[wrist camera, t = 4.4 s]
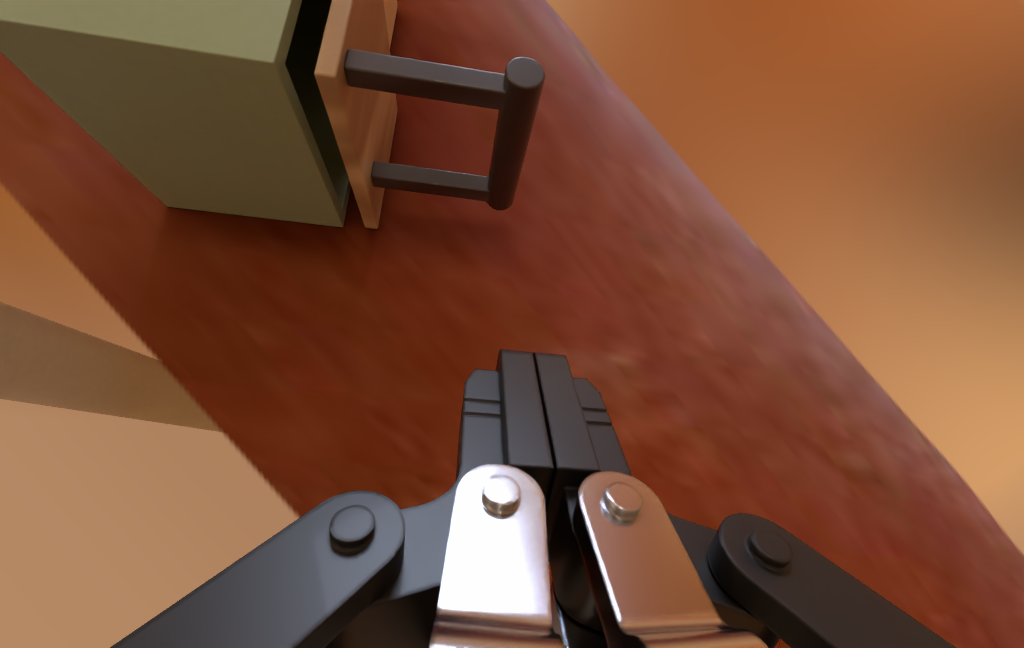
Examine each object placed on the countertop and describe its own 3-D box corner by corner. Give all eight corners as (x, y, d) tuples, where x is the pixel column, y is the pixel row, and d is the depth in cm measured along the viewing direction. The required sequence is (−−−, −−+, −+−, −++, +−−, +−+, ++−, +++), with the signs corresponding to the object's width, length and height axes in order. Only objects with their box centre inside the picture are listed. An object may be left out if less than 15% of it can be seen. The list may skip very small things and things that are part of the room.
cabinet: (166, 206, 26) (-42, 13, 15) (240, -17, 32) (128, -283, 21) (358, 229, 28) (300, 67, 16) (398, 10, 33) (374, -225, 22)
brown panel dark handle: (364, 228, 28) (311, 69, 16) (385, 108, 30) (352, -98, 19) (505, 245, 29) (544, 105, 18) (513, 127, 31) (551, -58, 20)
